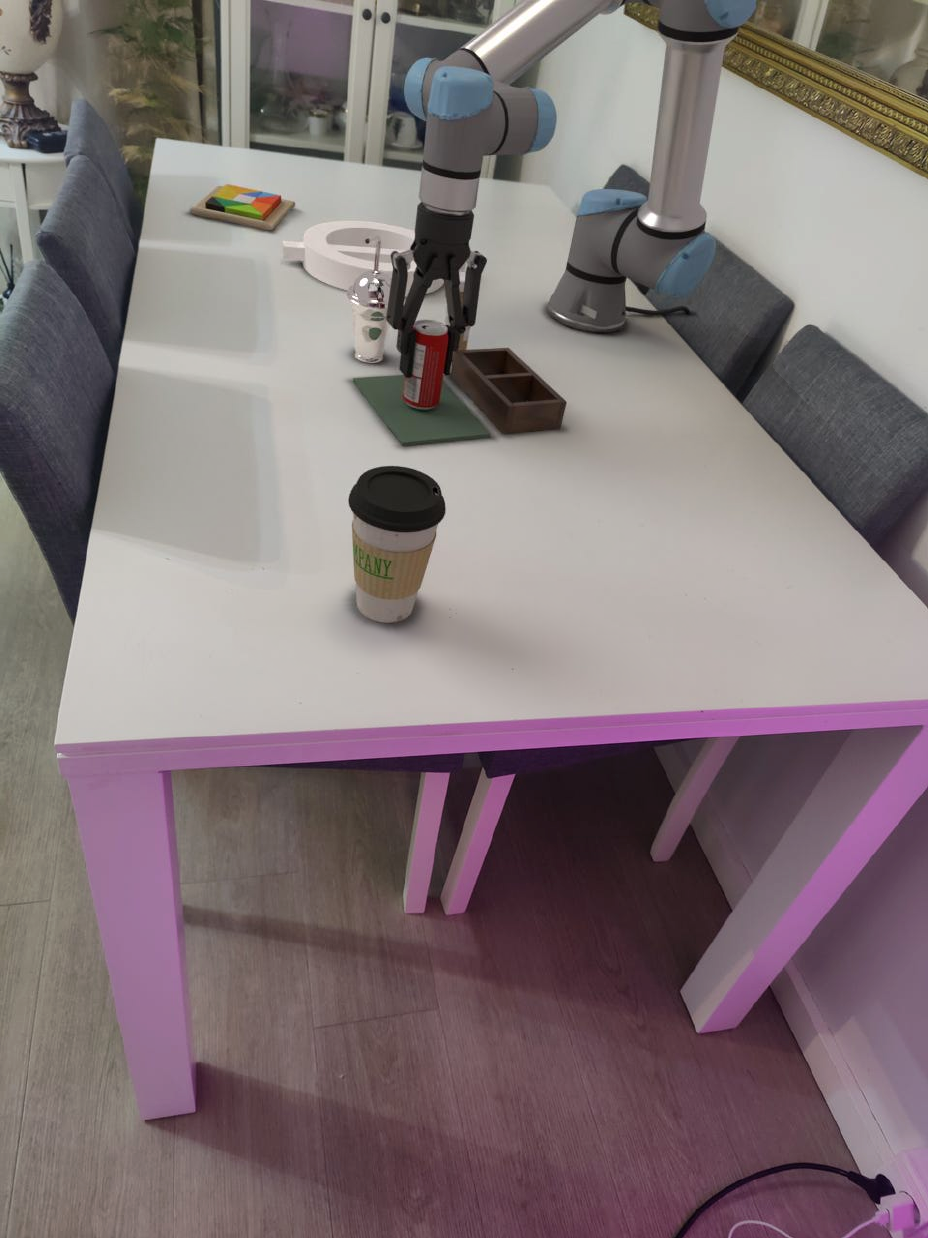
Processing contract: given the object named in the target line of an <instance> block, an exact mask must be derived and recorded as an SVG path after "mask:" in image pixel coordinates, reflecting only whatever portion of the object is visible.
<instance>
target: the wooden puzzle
mask: <svg viewBox="0 0 928 1238" xmlns="http://www.w3.org/2000/svg"><path fill="white" fill-rule="evenodd" d="M295 207H296V202H295V201H293V200H290V199H289V200H287V199H284V198H282V195H281V194H276V193H273V192H272V193H271V192H266V191H263V190H257V189H253V188H248V187H244V186H239V185H234V184H230V183H225V185H217V186H215V188H214V189H212V191H210V192H209V193H208V194H207V195H206V196H204V198H202V199H201V200H200V201H199V202H198V203H197V204H196V205H192V206H191V207H189V209H188V211H189V213H190V214H192V215H196V216H202V217H205V218H210V219H216V220H221V221H225V222H229V223H234V224H239V225H243V226H249V227H251V228H257V229H262V230H266V231H272V230H274V228H276V226H277V225H278V224H279V223H280V222H281V221H282V219H283V218H285V216H286V215H287V214H288V213H289V212H290V210H291V209H294V208H295Z"/></svg>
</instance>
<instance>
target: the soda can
mask: <svg viewBox="0 0 928 1238" xmlns="http://www.w3.org/2000/svg"><path fill="white" fill-rule="evenodd" d="M412 330H413V331H414V332H415V333H416V342H415V350H414V358H413V366H412V374H411V378H406V377H405V381H404V389H403V399H404V400H405V402H406V403H407V404H408V405H409V406H411V407H413V408H416V409H424V410H426V409H432V408H434V407H435V406H437V405H438V404H439V401H440V394H441V387H442V381H443V380H444V367H445V360H446V353H447V346H448V331H447V330H448V328H447V326H445V325H444V323H442V322H440V321H437V320H433V319H419V320H416V321H415V323H414V326H413V329H412Z"/></svg>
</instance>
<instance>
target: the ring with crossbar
mask: <svg viewBox="0 0 928 1238" xmlns="http://www.w3.org/2000/svg"><path fill="white" fill-rule="evenodd" d="M375 236H379V237H380V239H381V247H380V258H379V269H378V270H379V271H382V272H384V273H386V274H387V275H388V276H389V277H391V279H392V272H393V266H392V261H391V253H392V252H393V251H397V252H398V253H401V252H404V251H407V250H410V247H411V245H412V243H413V241H414V239H415V230H412V229H408V228H406V227H401V226H397V225H393V224H388V223H382V222H376V221H368V220H367V221H365V220H334V221H326V222H322V223H317V224H315V225H313V226H310V227H309V228H308V229H306V230H305V231H304V233H303V238H302V239H303V240H302V241H293V240H281V256H282V260H287V261H288V260H289V261H301V262H302V266H303V268H304V269H305V271H306V272H307V273H308V274H309V275H310V276H312V277H314V278H315V279H316V280H318V281H320V282H323V283H324V284H326V285H329V286H331V287H334V288H337V289H341V290H343V291H347V292H348V289H349V287H350V286H352V285H353V284H354V282H355V280H356V279H357V277H358V276H359V275H360V274H362V273H364V272H366V271H369V270H374V263H375V252H376V242H373V243H369V244H366V242H365V240H366V239H368V238H372V237H375ZM466 266H467V264H466V262H465V263H464V265H463V266H462V267H461V268H460V270H459V272H466ZM416 267H417V265H416V263H415V262H414V260H412V261H411V264H410V269H407V270H408V279H407V286H406V293H405V298H407V296H408V293H409V290H410V288H411V285H412V282H413V280H414V278H413V275H414V272H415V269H416ZM443 285H444V280H443V279H437V280H433V282H432V285H431V287H430V288H428V290H427V292H426V295H428V294H430V293H434V292H435V291H438V290H439V289H440V288H442V287H443Z"/></svg>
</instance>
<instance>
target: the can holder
mask: <svg viewBox="0 0 928 1238" xmlns="http://www.w3.org/2000/svg"><path fill="white" fill-rule="evenodd" d="M449 378H450V379H452V380H453V381H454V382H455V384H456V385H457V386H458V387H459V389H461V390H462V391H463V392H464V393H465V395H467V396H468V398H469V399H470V400H471V401H472V402H473V403H474V404H475V406H477V407H478V408H479V410H480V411H482V413H483V414H484V415H485V416H486V417H487V418H488V419H489V421H491V422H492V423H493V424H494V426H496V428H497V429H498V430H499V431H500V432H501V434H503V435H508V434H518V433H520V434H521V433H529V432H540V431H550V430H559V429H561V427H562V424H563V419H564V416H565V412H566V407H567V403H568V402H567V400H566V399H564V398H563V396H561V395H560V394H559V393H558V392H557V391H556V390H555V389H554V388H553V387H551V385H550V384H548V383H547V382H546V381H545V380H544V379H543V378H542V377H541V376H540V375H538V374H537V372H535V370H534V369H532V368H531V367H530V366H529V365H528V364H527V363H526V362H525V361H524V360H522V358H520V357H519V356H518V355H517V354H516V353H515V352H514V351H513V350H512V349H511V348H510V347H495V348H494V347H493V348H476V349H466V350H457V351H454V355H453V360H452V363H451V370H450V375H449Z"/></svg>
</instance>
